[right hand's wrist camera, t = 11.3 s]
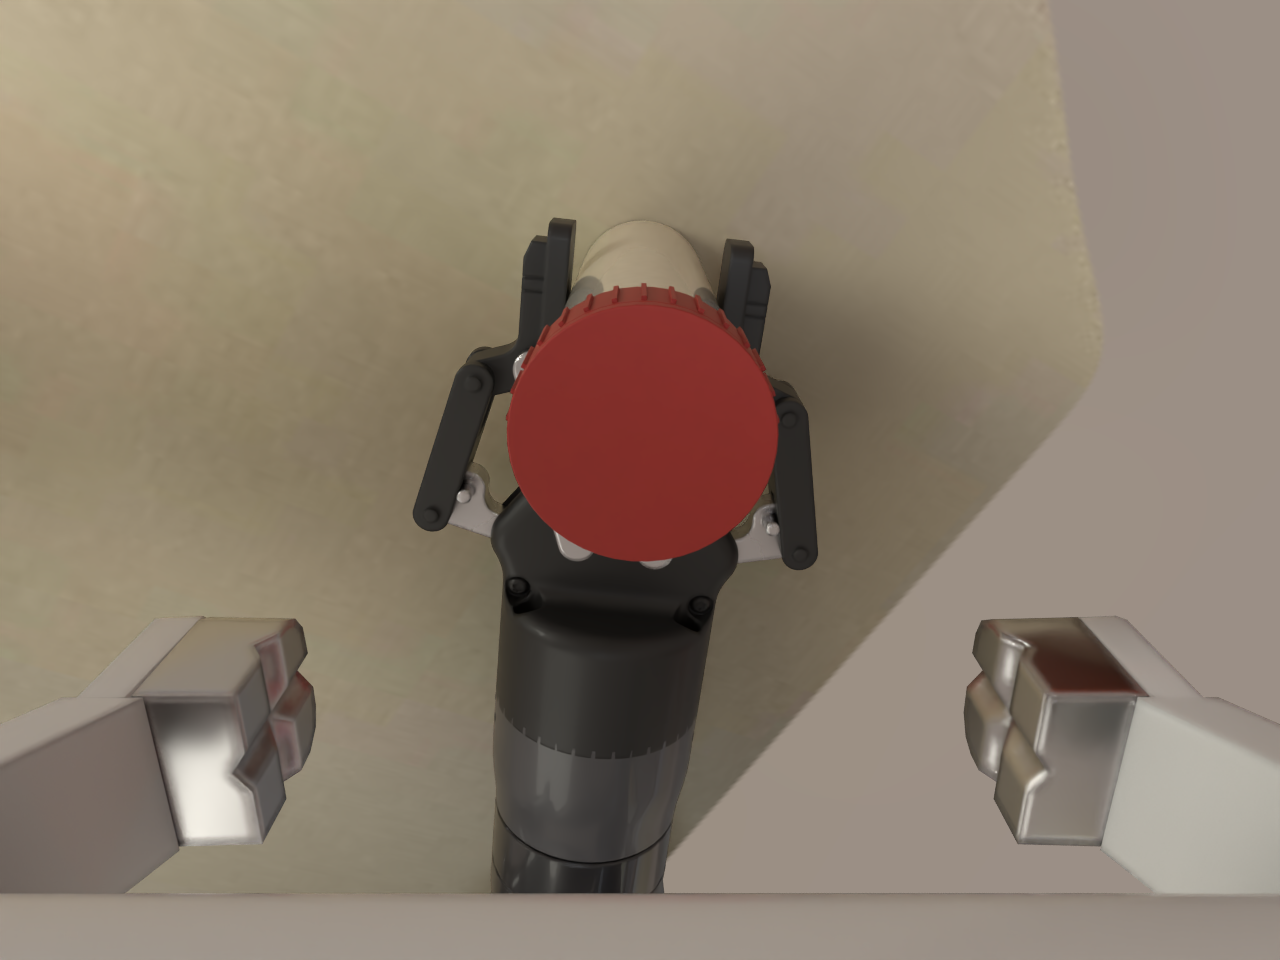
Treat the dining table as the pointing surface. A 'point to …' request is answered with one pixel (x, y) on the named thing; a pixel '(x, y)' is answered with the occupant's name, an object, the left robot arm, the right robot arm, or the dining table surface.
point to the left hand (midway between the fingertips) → (650, 234)
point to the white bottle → (641, 263)
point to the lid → (642, 424)
